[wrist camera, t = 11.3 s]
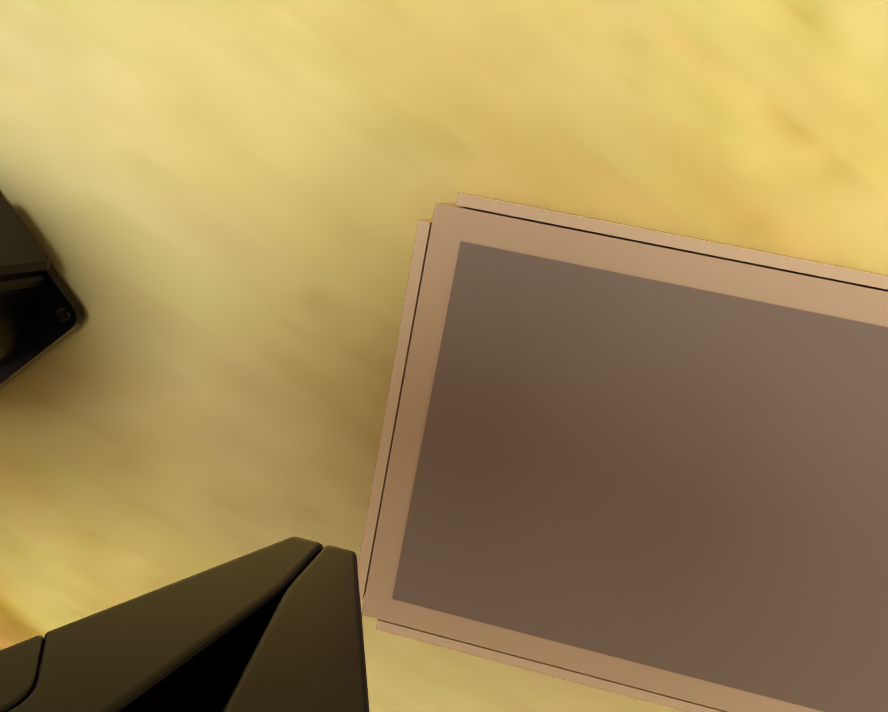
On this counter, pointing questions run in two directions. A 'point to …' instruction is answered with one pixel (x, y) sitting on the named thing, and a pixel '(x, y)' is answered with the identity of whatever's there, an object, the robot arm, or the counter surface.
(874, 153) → the counter surface
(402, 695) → the counter surface
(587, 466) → the carton
